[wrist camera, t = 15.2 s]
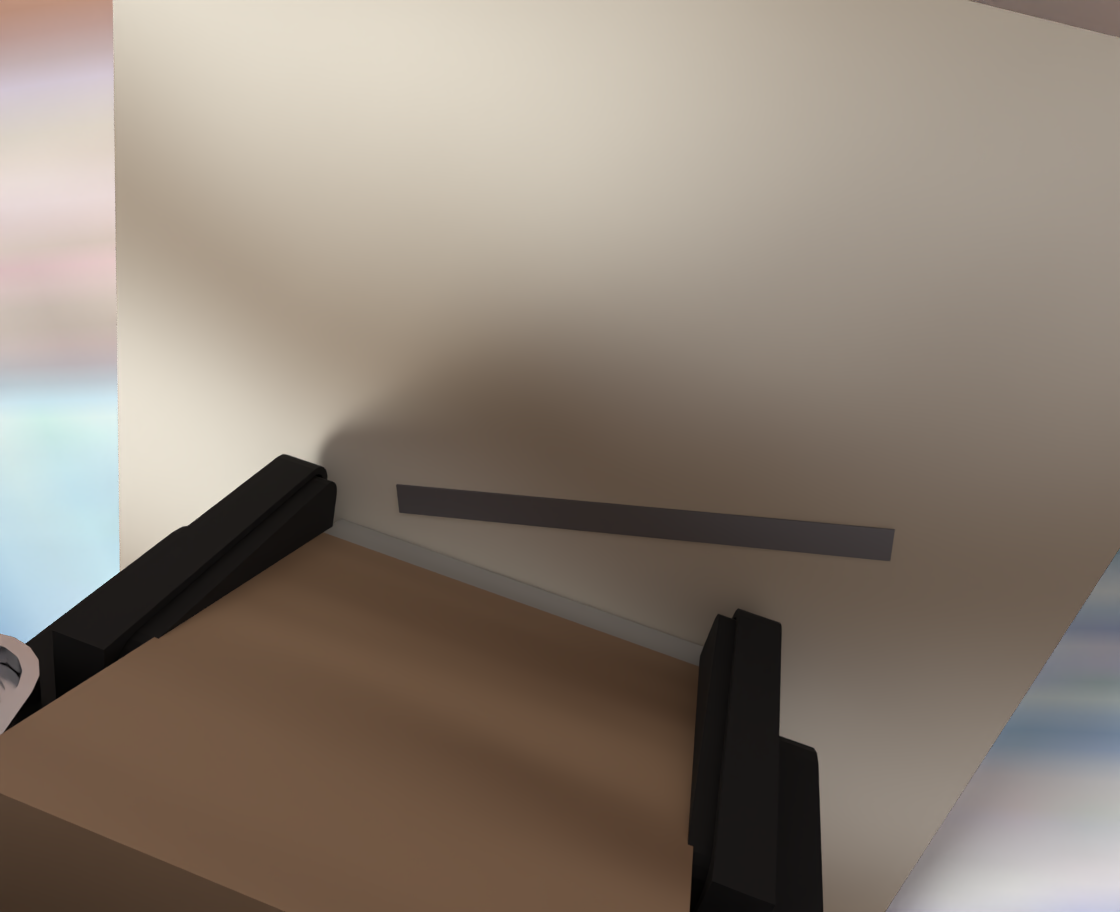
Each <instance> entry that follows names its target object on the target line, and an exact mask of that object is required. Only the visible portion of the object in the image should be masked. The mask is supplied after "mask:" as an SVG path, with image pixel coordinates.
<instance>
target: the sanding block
mask: <svg viewBox="0 0 1120 912" xmlns="http://www.w3.org/2000/svg"><path fill="white" fill-rule="evenodd" d="M702 649H703V646H700V645H697V644H695V643H692V642H689V641H686V640H683V639H681V638H678V637H675V636H672V635H669V634H666V633H664V632H661V631H658V630H655V629H652V628H649V627H647V626H644V625H641V624H638V623H635V622H632V621H630V620H627V619H624V618H621V617H618V616H616V615H613V614H610V613H607V612H604V611H601V610H599V609H596V608H593V607H590V606H587V605H584V604H582V603H579V602H576V601H573V600H570V599H567V598H565V597H562V596H559V595H556V594H553V593H551V592H548V591H545V590H542V589H539V588H536V587H534V586H531V585H528V584H525V583H522V582H519V581H517V580H514V579H511V578H508V577H505V576H502V575H500V574H497V573H494V572H491V571H488V570H486V569H483V568H480V567H477V566H474V565H471V564H469V563H466V562H463V561H460V560H457V559H454V558H452V557H449V556H446V555H443V554H440V553H437V552H435V551H432V550H429V549H426V548H423V547H421V546H418V545H415V544H412V543H409V542H406V541H404V540H401V539H398V538H395V537H392V536H389V535H387V534H384V533H381V532H378V531H375V530H373V529H370V528H367V527H364V526H361V525H358V524H356V523H353V522H350V521H347V520H344V519H340V520H339V521H337V522H335V523H334V524H333V527H331V528H329V529H328V530H326V531H325V532H323V533H322V534H320V535H319V536H317V537H315V538H314V539H312V540H311V541H309V542H308V543H306V544H305V545H303V546H301V547H300V548H298V549H297V550H295V551H294V552H292V553H291V554H289V555H288V556H286V557H284V558H283V559H281V560H280V561H278V562H277V563H275V564H274V565H272V566H270V567H269V568H267V569H266V570H264V571H263V572H261V573H260V574H258V575H256V576H255V577H253V578H252V579H250V580H249V581H247V582H246V583H244V584H243V585H241V586H239V587H238V588H236V589H235V590H233V591H232V592H230V593H229V594H227V595H225V596H224V597H222V598H221V599H219V600H218V601H216V602H215V603H213V604H211V605H210V606H208V607H207V608H205V609H204V610H202V611H201V612H199V613H197V614H196V615H194V616H193V617H191V618H190V619H188V620H187V621H185V622H184V623H182V624H180V625H179V626H177V627H176V628H174V629H173V630H171V631H170V632H168V633H166V634H165V635H163V636H162V637H160V638H159V639H158V638H155V637H154V638H152V639H151V640H149V641H148V642H146V643H144V644H143V645H141V646H140V647H138V648H136V649H135V650H133V651H132V652H130V653H129V654H127V655H125V656H124V657H122V658H121V659H119V660H118V661H116V662H114V663H113V664H111V665H110V666H108V667H107V668H105V669H103V670H102V671H100V672H99V673H97V674H95V675H94V676H92V677H91V678H89V679H88V680H86V681H84V682H83V683H81V684H80V685H78V686H77V687H75V688H73V689H72V690H70V691H69V692H67V693H65V694H64V695H62V696H61V697H59V698H58V699H56V700H54V701H53V702H51V703H50V704H48V705H47V706H45V707H43V708H42V709H40V710H39V711H37V712H35V713H34V714H32V715H31V716H29V717H28V718H26V719H24V720H23V721H21V722H20V723H18V724H17V725H15V726H13V727H12V728H10V729H9V730H7V731H5V732H4V733H2V734H1V735H0V912H690V894H691V876H692V859H693V846H690V845H688V830H689V814H690V799H691V783H692V768H693V752H694V737H695V721H696V706H697V690H698V675H699V660H700V654H701V652H702Z"/></svg>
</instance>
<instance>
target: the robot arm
mask: <svg viewBox="0 0 1120 912" xmlns="http://www.w3.org/2000/svg"><path fill="white" fill-rule="evenodd" d="M327 476H328V475H327V471H326V469H325V468H324V467H323V466H320V465H317V464H314V463H311V462H308V461H305V460H302V459H299V458H296V457H293V456H290V455H287V454H282V455H280V456H278V457H276V458H275V459H274V460H273V461H271V462H270V463H269V464H267V465H266V466H265V467H263V468H262V469H261V470H260V471H258V472H257V473H256V474H254V475H253V476H252V477H250V478H249V479H248V480H247V481H245V482H244V483H243V484H241V485H240V486H239V487H237V488H236V489H235V490H234V491H232V492H231V493H230V494H228V495H227V496H226V497H224V498H223V499H222V500H221V501H219V502H218V503H217V504H215V505H214V506H213V507H211V508H210V509H209V510H208V511H206V512H205V513H204V514H202V515H201V516H200V517H198V518H197V519H196V520H195V521H193V522H192V523H191V524H189V525H188V526H182V527H181V528H179V529H177V530H175V531H173V532H172V533H171V534H169V535H168V536H167V537H165V538H164V539H163V540H161V541H160V542H159V543H157V544H156V545H155V546H153V547H152V548H151V549H149V550H148V551H147V552H146V553H144V554H143V555H142V556H140V557H139V558H138V559H136V560H135V561H134V562H132V563H131V564H130V565H128V566H127V567H126V568H124V569H123V570H122V571H121V572H119V573H118V574H117V575H115V576H114V577H113V578H111V579H110V580H109V581H107V582H106V583H105V584H103V585H102V586H101V587H99V588H98V589H97V590H96V591H94V592H93V593H92V594H90V595H89V596H88V597H86V598H85V599H84V600H82V601H81V602H80V603H78V604H77V605H76V606H74V607H73V608H72V609H71V610H69V611H68V612H67V613H65V614H64V615H63V616H61V617H60V618H59V619H57V620H56V621H55V622H53V623H52V624H51V625H49V626H48V627H47V628H46V629H44V630H43V631H42V632H40V633H39V634H38V635H36V636H35V637H34V638H32V639H31V640H30V641H28V642H27V643H26V644H24V643H23V642H21V641H19V640H18V639H16V638H14V637H11V636H7V635H3V634H0V735H1V734H2V733H4V732H5V731H7V730H9V729H10V728H12V727H13V726H15V725H17V724H18V723H20V722H21V721H23V720H24V719H26V718H28V717H29V716H31V715H32V714H34V713H35V712H37V711H39V710H40V709H42V708H43V707H45V706H47V705H48V704H50V703H51V702H53V701H54V700H56V699H58V698H59V697H61V696H62V695H64V694H65V693H67V692H69V691H70V690H72V689H73V688H75V687H77V686H78V685H80V684H81V683H83V682H84V681H86V680H88V679H89V678H91V677H92V676H94V675H95V674H97V673H99V672H100V671H102V670H103V669H105V668H107V667H108V666H110V665H111V664H113V663H114V662H116V661H118V660H119V659H121V658H122V657H124V656H125V655H127V654H129V653H130V652H132V651H133V650H135V649H136V648H138V647H140V646H141V645H143V644H144V643H146V642H148V641H149V640H151V639H152V638H154V637H155V638H158V639H159V638H160V637H162V636H163V635H165V634H166V633H168V632H170V631H171V630H173V629H174V628H176V627H177V626H179V625H180V624H182V623H184V622H185V621H187V620H188V619H190V618H191V617H193V616H194V615H196V614H197V613H199V612H201V611H202V610H204V609H205V608H207V607H208V606H210V605H211V604H213V603H215V602H216V601H218V600H219V599H221V598H222V597H224V596H225V595H227V594H229V593H230V592H232V591H233V590H235V589H236V588H238V587H239V586H241V585H243V584H244V583H246V582H247V581H249V580H250V579H252V578H253V577H255V576H256V575H258V574H260V573H261V572H263V571H264V570H266V569H267V568H269V567H270V566H272V565H274V564H275V563H277V562H278V561H280V560H281V559H283V558H284V557H286V556H288V555H289V554H291V553H292V552H294V551H295V550H297V549H298V548H300V547H301V546H303V545H305V544H306V543H308V542H309V541H311V540H312V539H314V538H315V537H317V536H319V535H320V534H322V533H323V532H325V531H326V530H328V529H329V528H331V527H333V520H334V512H335V504H336V496H337V486H336V484H335V482H333V481H330V480H327ZM781 642H782V626H781V623H780V622H777V621H774V620H771V619H768V618H765V617H762V616H759V615H756V614H753V613H751V612H748V611H745V610H742V609H739V608H738V609H737V610H736V611H735V613H734V615H733V617H732V618H729V617H726V616H724V615H721V614H717V616H716V618H715V620H714V622H713V624H712V627H711V629H710V632H709V634H708V637H707V639H706V642H705V644H704V647H703V649H702V652H701V654H700V660H699V675H698V690H697V706H696V721H695V737H694V752H693V768H692V783H691V799H690V814H689V830H688V845H690V846H693V859H692V876H691V894H690V912H823V882H822V852H821V822H820V792H819V763H818V756H817V752H816V750H815V749H814V748H813V747H810V746H807V745H805V744H802V743H799V742H796V741H793V740H791V739H788V738H785V737H782V736H779V728H780V685H781Z"/></svg>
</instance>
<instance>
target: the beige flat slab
mask: <svg viewBox="0 0 1120 912" xmlns="http://www.w3.org/2000/svg"><path fill="white" fill-rule="evenodd" d="M113 50H114V131H115V212H116V294H117V375H118V457H119V538H120V572H121V571H122V570H123V569H124V568H126V567H127V566H128V565H130V564H131V563H132V562H134V561H135V560H136V559H138V558H139V557H140V556H142V555H143V554H144V553H146V552H147V551H148V550H149V549H151V548H152V547H153V546H155V545H156V544H157V543H159V542H160V541H161V540H163V539H164V538H165V537H167V536H168V535H169V534H171V533H172V532H173V531H175V530H177V529H179V528H181V527H182V526H188V525H189V524H191V523H192V522H193V521H195V520H196V519H197V518H198V517H200V516H201V515H202V514H204V513H205V512H206V511H208V510H209V509H210V508H211V507H213V506H214V505H215V504H217V503H218V502H219V501H221V500H222V499H223V498H224V497H226V496H227V495H228V494H230V493H231V492H232V491H234V490H235V489H236V488H237V487H239V486H240V485H241V484H243V483H244V482H245V481H247V480H248V479H249V478H250V477H252V476H253V475H254V474H256V473H257V472H258V471H260V470H261V469H262V468H263V467H265V466H266V465H267V464H269V463H270V462H271V461H273V460H274V459H275V458H276V457H278V456H280V455H282V454H287V455H290V456H293V457H296V458H299V459H302V460H305V461H308V462H311V463H314V464H317V465H320V466H323V467H324V468H325V469H326V471H327V475H328V476H327V480H330V481H333V482H335V484H336V486H337V496H336V504H335V512H334V520H333V524H334V523H335V522H337V521H339V520H340V519H344V520H347V521H350V522H353V523H356V524H358V525H361V526H364V527H367V528H370V529H373V530H375V531H378V532H381V533H384V534H387V535H389V536H392V537H395V538H398V539H401V540H404V541H406V542H409V543H412V544H415V545H418V546H421V547H423V548H426V549H429V550H432V551H435V552H437V553H440V554H443V555H446V556H449V557H452V558H454V559H457V560H460V561H463V562H466V563H469V564H471V565H474V566H477V567H480V568H483V569H486V570H488V571H491V572H494V573H497V574H500V575H502V576H505V577H508V578H511V579H514V580H517V581H519V582H522V583H525V584H528V585H531V586H534V587H536V588H539V589H542V590H545V591H548V592H551V593H553V594H556V595H559V596H562V597H565V598H567V599H570V600H573V601H576V602H579V603H582V604H584V605H587V606H590V607H593V608H596V609H599V610H601V611H604V612H607V613H610V614H613V615H616V616H618V617H621V618H624V619H627V620H630V621H632V622H635V623H638V624H641V625H644V626H647V627H649V628H652V629H655V630H658V631H661V632H664V633H666V634H669V635H672V636H675V637H678V638H681V639H683V640H686V641H689V642H692V643H695V644H697V645H700V646H703V647H704V644H705V642H706V639H707V637H708V634H709V632H710V629H711V627H712V624H713V622H714V620H715V618H716V616H717V614H721V615H724V616H726V617H729V618H732V617H733V615H734V613H735V611H736V610H737V609H738V608H739V609H742V610H745V611H748V612H751V613H753V614H756V615H759V616H762V617H765V618H768V619H771V620H774V621H777V622H780V623H781V626H782V642H781V685H780V728H779V736H782V737H785V738H788V739H791V740H793V741H796V742H799V743H802V744H805V745H807V746H810V747H813V748H814V749H815V750H816V752H817V756H818V763H819V792H820V822H821V852H822V882H823V912H885V911H886V910H887V908H888V907H889V905H890V904H891V902H892V900H893V899H894V897H895V896H896V894H897V893H898V891H899V890H900V888H901V886H902V885H903V883H904V882H905V880H906V879H907V877H908V876H909V874H910V873H911V871H912V869H913V868H914V866H915V865H916V863H917V862H918V860H919V859H920V857H921V855H922V854H923V852H924V851H925V849H926V848H927V846H928V845H929V843H930V842H931V840H932V838H933V837H934V835H935V834H936V832H937V831H938V829H939V828H940V826H941V824H942V823H943V821H944V820H945V818H946V817H947V815H948V814H949V812H950V811H951V809H952V807H953V806H954V804H955V803H956V801H957V800H958V798H959V797H960V795H961V793H962V792H963V790H964V789H965V787H966V786H967V784H968V783H969V781H970V779H971V778H972V776H973V775H974V773H975V772H976V770H977V769H978V767H979V766H980V764H981V762H982V761H983V759H984V758H985V756H986V755H987V753H988V752H989V750H990V748H991V747H992V745H993V744H994V742H995V741H996V739H997V738H998V736H999V735H1000V733H1001V731H1002V730H1003V728H1004V727H1005V725H1006V724H1007V722H1008V721H1009V719H1010V717H1011V716H1012V714H1013V713H1014V711H1015V710H1016V708H1017V707H1018V705H1019V704H1020V702H1021V700H1022V699H1023V697H1024V696H1025V694H1026V693H1027V691H1028V690H1029V688H1030V686H1031V685H1032V683H1033V682H1034V680H1035V679H1036V677H1037V676H1038V674H1039V673H1040V671H1041V669H1042V668H1043V666H1044V665H1045V663H1046V662H1047V660H1048V659H1049V657H1050V655H1051V654H1052V652H1053V651H1054V649H1055V648H1056V646H1057V645H1058V643H1059V642H1060V640H1061V638H1062V637H1063V635H1064V634H1065V632H1066V631H1067V629H1068V628H1069V626H1070V624H1071V623H1072V621H1073V620H1074V618H1075V617H1076V615H1077V614H1078V612H1079V611H1080V609H1081V607H1082V606H1083V604H1084V603H1085V601H1086V600H1087V598H1088V597H1089V595H1090V593H1091V592H1092V590H1093V589H1094V587H1095V586H1096V584H1097V583H1098V581H1099V579H1100V578H1101V576H1102V575H1103V573H1104V572H1105V570H1106V569H1107V567H1108V566H1109V564H1110V562H1111V561H1112V559H1113V558H1114V556H1115V555H1116V553H1117V552H1118V550H1119V548H1120V37H1116V36H1111V35H1107V34H1103V33H1099V32H1095V31H1091V30H1087V29H1083V28H1079V27H1075V26H1071V25H1067V24H1063V23H1059V22H1055V21H1051V20H1046V19H1042V18H1038V17H1034V16H1030V15H1026V14H1022V13H1018V12H1014V11H1010V10H1006V9H1002V8H998V7H994V6H990V5H986V4H982V3H977V2H973V1H969V0H113Z"/></svg>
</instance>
